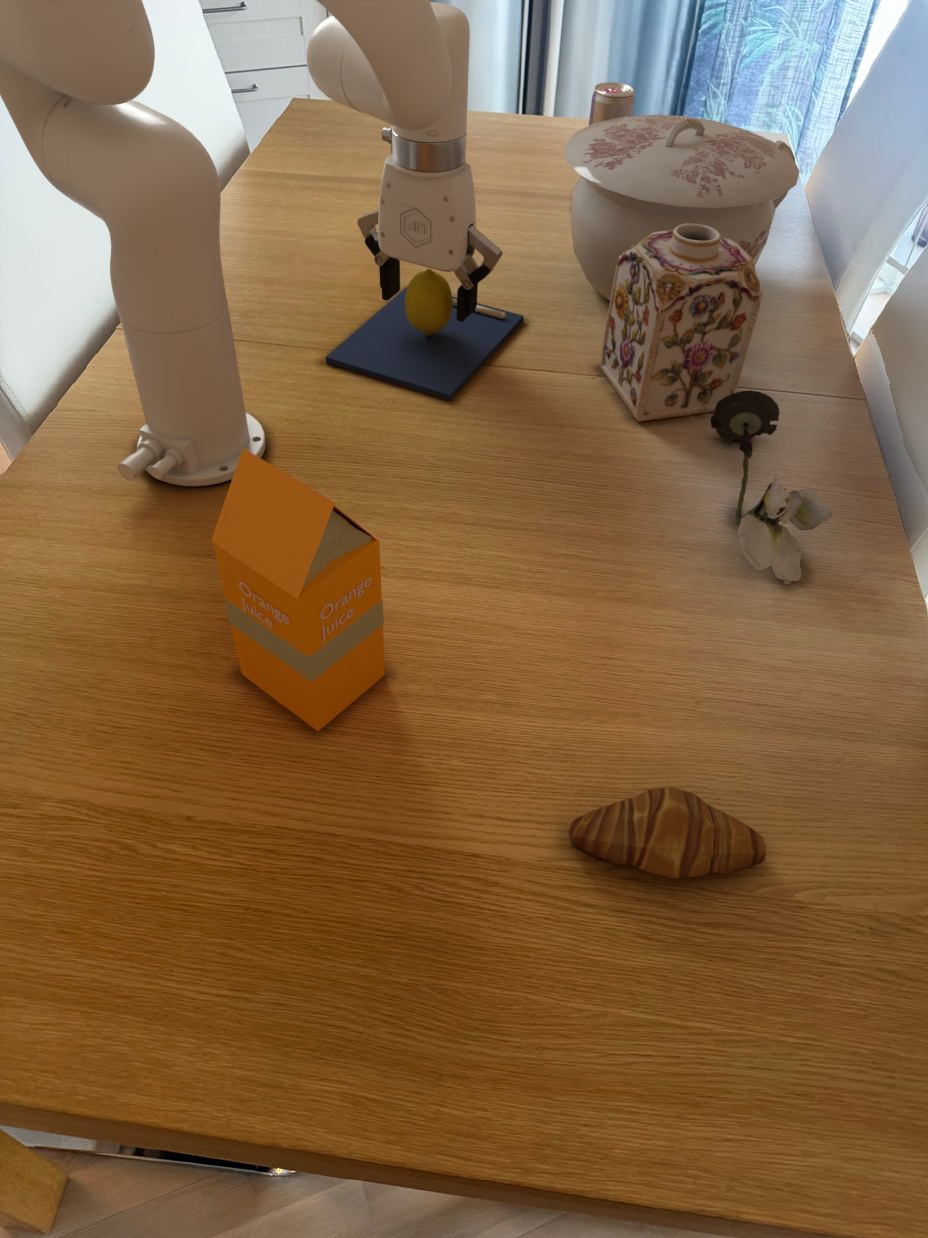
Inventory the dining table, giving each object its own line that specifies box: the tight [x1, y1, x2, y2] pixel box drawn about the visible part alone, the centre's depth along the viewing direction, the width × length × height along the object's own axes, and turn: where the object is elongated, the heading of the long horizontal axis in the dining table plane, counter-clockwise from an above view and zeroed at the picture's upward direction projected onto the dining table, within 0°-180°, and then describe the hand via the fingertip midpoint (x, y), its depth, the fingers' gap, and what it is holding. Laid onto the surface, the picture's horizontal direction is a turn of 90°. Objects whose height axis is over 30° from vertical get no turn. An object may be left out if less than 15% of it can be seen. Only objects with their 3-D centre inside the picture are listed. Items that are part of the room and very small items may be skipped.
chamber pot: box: [564, 114, 800, 302], centre depth 113 cm, size 28×28×21 cm
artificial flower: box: [710, 390, 834, 585], centre depth 88 cm, size 9×22×10 cm, turn 171°
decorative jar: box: [600, 224, 763, 423], centre depth 98 cm, size 12×12×18 cm
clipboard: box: [325, 285, 525, 402], centre depth 110 cm, size 20×16×2 cm
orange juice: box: [210, 448, 386, 732], centre depth 67 cm, size 8×9×20 cm
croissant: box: [568, 786, 767, 879], centre depth 63 cm, size 14×7×5 cm, turn 85°
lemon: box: [405, 268, 453, 336], centre depth 107 cm, size 6×6×8 cm
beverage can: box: [588, 81, 635, 126], centre depth 135 cm, size 6×6×15 cm
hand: (427, 305), depth 107 cm, fingers open, 9 cm apart
